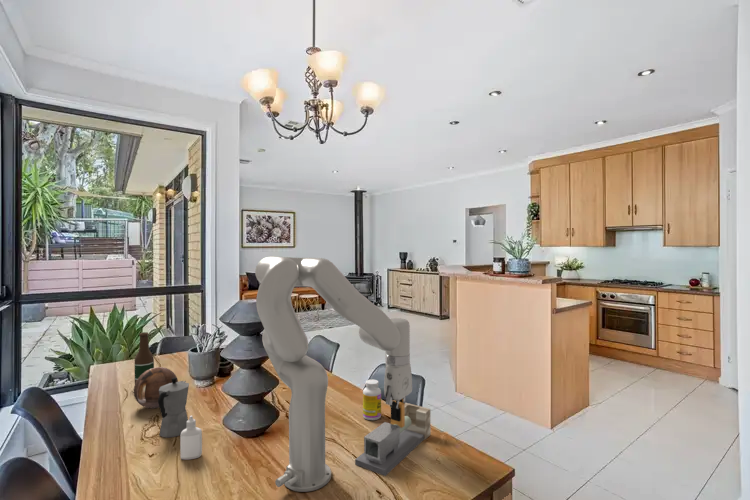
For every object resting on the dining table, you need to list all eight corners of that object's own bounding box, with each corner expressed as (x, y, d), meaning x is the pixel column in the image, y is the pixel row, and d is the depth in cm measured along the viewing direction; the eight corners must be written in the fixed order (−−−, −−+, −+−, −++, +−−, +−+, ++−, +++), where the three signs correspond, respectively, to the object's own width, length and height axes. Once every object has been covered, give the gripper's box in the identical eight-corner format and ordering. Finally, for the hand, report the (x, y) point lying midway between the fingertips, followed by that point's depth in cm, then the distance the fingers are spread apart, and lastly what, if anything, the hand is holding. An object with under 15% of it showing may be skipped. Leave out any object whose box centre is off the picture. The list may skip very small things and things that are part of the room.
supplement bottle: (379, 421, 136) (379, 385, 135) (361, 420, 137) (360, 384, 137) (382, 413, 142) (382, 379, 142) (365, 412, 143) (365, 377, 143)
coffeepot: (171, 422, 136) (170, 371, 136) (197, 422, 136) (197, 371, 136) (144, 444, 120) (144, 387, 120) (174, 444, 120) (174, 387, 120)
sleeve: (379, 465, 106) (379, 442, 106) (364, 460, 108) (364, 436, 108) (399, 448, 115) (399, 426, 115) (384, 443, 118) (384, 422, 118)
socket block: (425, 439, 123) (425, 413, 123) (395, 430, 129) (395, 405, 129) (430, 434, 126) (430, 408, 126) (401, 426, 132) (401, 401, 132)
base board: (385, 476, 103) (385, 470, 103) (355, 464, 109) (355, 459, 109) (426, 437, 124) (426, 432, 124) (399, 429, 130) (399, 425, 130)
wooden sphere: (166, 396, 159) (165, 360, 159) (186, 404, 151) (185, 366, 151) (126, 408, 147) (126, 369, 147) (145, 418, 139) (145, 377, 138)
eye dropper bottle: (193, 462, 110) (193, 420, 110) (177, 459, 112) (177, 418, 112) (204, 454, 115) (204, 414, 115) (189, 451, 116) (188, 411, 116)
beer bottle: (158, 386, 171) (157, 332, 171) (139, 391, 165) (139, 335, 164) (148, 382, 175) (148, 330, 175) (130, 388, 169) (130, 333, 169)
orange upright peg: (386, 449, 110) (386, 416, 109) (374, 445, 112) (374, 412, 112) (412, 427, 123) (412, 397, 123) (401, 424, 125) (401, 394, 125)
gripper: (395, 368, 110) (395, 432, 110) (420, 355, 123) (420, 412, 123) (373, 363, 114) (373, 425, 114) (399, 351, 127) (399, 407, 128)
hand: (397, 418), depth 119 cm, fingers closed on orange upright peg
